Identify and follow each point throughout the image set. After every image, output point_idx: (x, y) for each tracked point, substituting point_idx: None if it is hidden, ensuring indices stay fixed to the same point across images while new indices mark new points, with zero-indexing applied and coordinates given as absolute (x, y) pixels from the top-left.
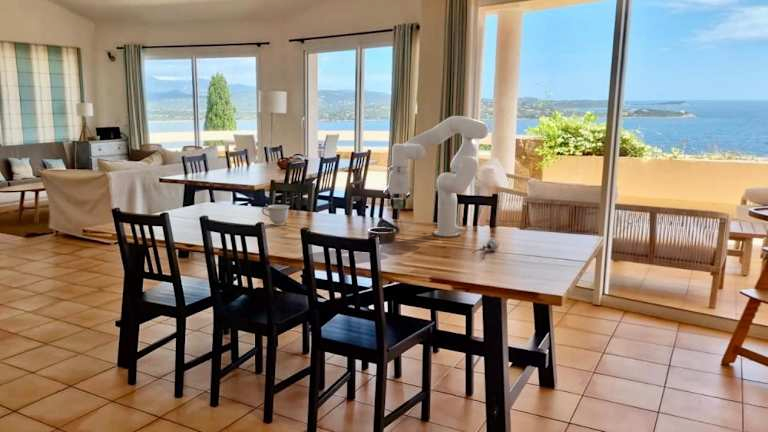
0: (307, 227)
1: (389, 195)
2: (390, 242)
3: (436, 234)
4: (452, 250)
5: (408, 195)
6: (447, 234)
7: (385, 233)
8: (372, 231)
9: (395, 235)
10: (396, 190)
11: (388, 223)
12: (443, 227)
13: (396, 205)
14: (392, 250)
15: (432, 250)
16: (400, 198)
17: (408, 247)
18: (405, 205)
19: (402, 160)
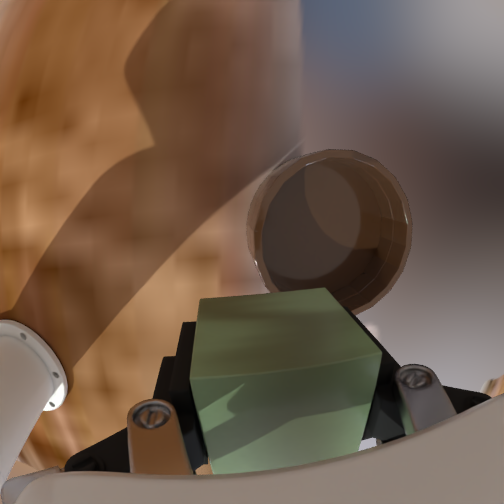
0: (489, 388)
1: (464, 408)
2: (276, 168)
3: (50, 350)
4: (11, 57)
5: (82, 469)
6: (7, 327)
7: (324, 150)
8: (378, 280)
9: (251, 220)
10: (461, 492)
11: None
12: (9, 356)
13: (300, 308)
14: (270, 11)
15: (82, 31)
16: (245, 465)
17: (183, 64)
18: (163, 357)
19: None
